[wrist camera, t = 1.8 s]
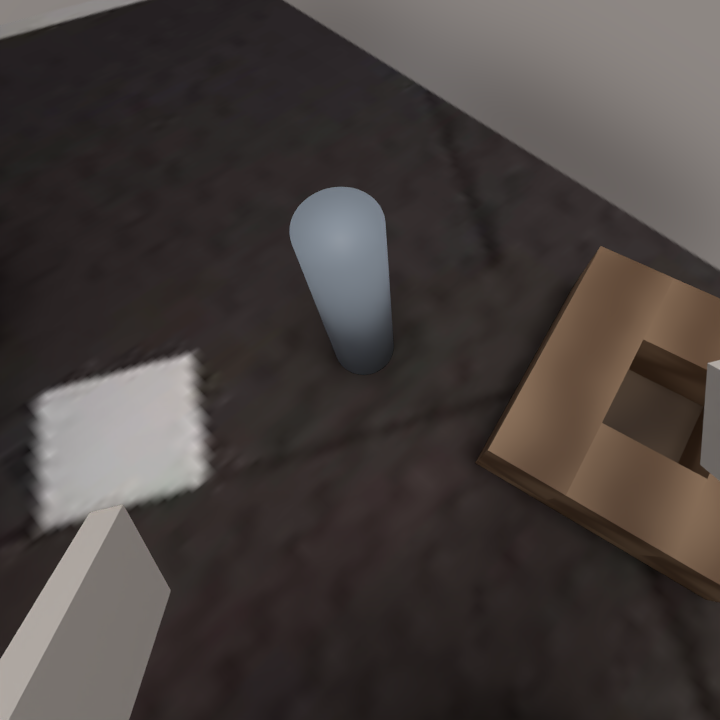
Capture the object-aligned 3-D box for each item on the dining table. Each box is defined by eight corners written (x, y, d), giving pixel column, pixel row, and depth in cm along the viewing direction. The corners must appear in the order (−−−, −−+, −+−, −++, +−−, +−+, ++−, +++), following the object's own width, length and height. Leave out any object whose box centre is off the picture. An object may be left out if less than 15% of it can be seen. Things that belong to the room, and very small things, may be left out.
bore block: (475, 462, 30) (487, 450, 26) (573, 285, 34) (600, 246, 29) (705, 599, 27) (768, 613, 22) (790, 387, 30) (861, 360, 26)
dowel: (323, 356, 34) (270, 243, 20) (355, 309, 35) (323, 173, 21) (373, 385, 33) (351, 285, 20) (404, 336, 34) (403, 210, 20)
